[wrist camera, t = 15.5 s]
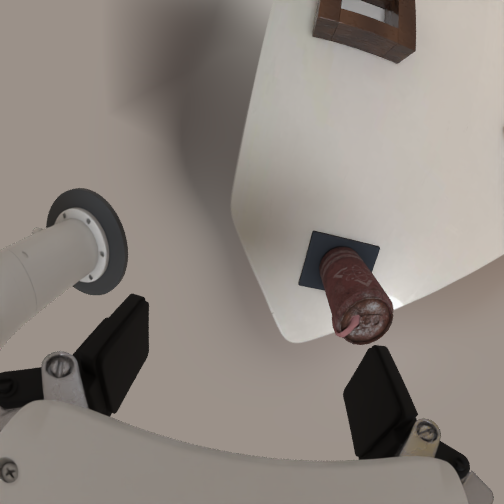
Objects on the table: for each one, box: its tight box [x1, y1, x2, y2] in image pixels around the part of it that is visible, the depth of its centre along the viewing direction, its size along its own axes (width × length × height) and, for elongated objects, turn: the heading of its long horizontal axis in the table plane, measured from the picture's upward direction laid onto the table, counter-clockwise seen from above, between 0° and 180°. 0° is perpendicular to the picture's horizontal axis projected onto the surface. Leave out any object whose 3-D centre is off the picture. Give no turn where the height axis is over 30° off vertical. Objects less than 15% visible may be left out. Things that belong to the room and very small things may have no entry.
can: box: [319, 247, 393, 345], centre depth 30 cm, size 6×6×14 cm
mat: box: [299, 231, 380, 290], centre depth 37 cm, size 10×8×1 cm
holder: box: [312, 0, 416, 63], centre depth 21 cm, size 12×12×6 cm
